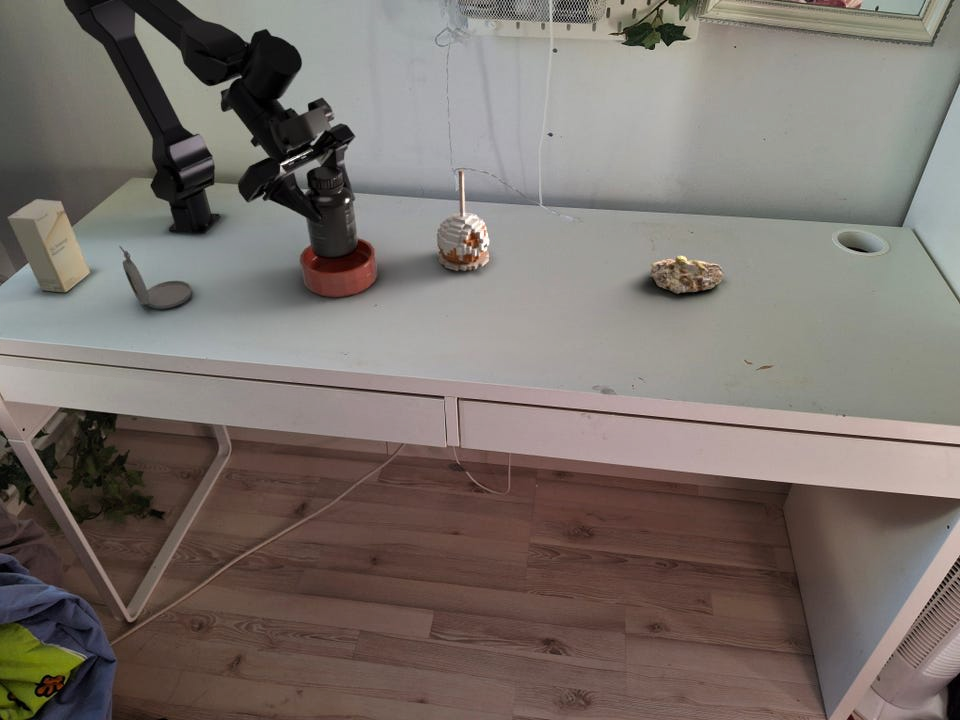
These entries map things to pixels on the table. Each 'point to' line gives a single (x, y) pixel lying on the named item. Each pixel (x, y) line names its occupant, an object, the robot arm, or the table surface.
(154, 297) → the pocket watch
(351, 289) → the bowl
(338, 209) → the supplement bottle
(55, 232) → the cosmetic box
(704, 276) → the mineral rock
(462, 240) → the caramel apple
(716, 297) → the table surface
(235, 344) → the table surface
